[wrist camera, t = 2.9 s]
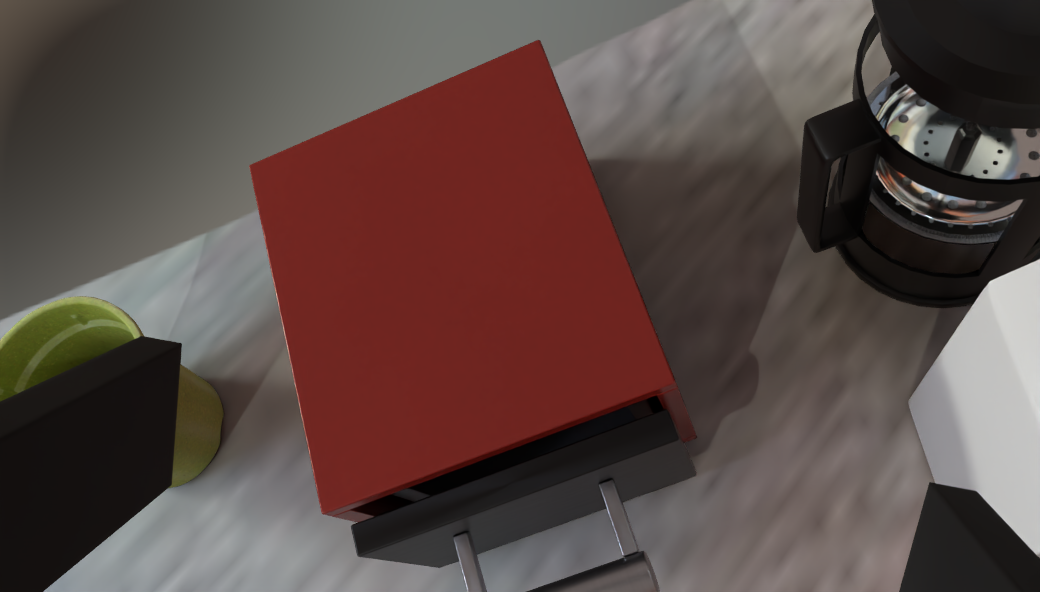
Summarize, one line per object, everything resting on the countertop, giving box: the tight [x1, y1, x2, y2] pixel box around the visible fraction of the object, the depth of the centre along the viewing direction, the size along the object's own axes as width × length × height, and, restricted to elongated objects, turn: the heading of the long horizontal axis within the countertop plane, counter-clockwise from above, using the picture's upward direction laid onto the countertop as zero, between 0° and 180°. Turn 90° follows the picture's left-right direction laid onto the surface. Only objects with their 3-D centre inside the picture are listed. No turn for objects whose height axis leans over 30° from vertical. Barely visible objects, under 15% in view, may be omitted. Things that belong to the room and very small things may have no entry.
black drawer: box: [351, 398, 697, 592], centre depth 37 cm, size 19×12×9 cm, turn 18°
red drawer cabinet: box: [249, 40, 697, 522], centre depth 39 cm, size 16×14×11 cm
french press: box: [797, 0, 1040, 308], centre depth 30 cm, size 12×9×23 cm
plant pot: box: [0, 296, 224, 488], centre depth 43 cm, size 9×9×9 cm
